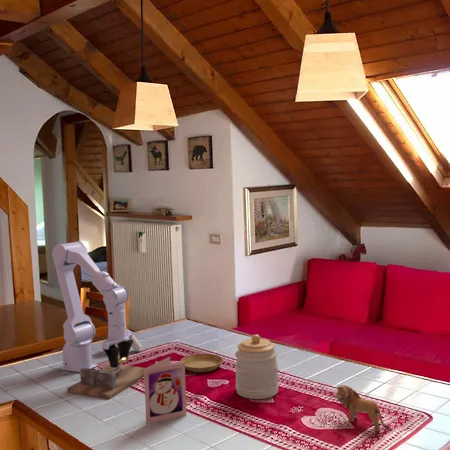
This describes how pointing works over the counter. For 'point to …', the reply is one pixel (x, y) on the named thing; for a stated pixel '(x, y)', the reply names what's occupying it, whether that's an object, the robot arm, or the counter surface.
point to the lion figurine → (359, 405)
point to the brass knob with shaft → (119, 367)
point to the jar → (256, 368)
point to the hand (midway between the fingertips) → (119, 364)
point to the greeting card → (165, 391)
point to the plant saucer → (202, 362)
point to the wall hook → (136, 344)
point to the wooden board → (106, 381)
